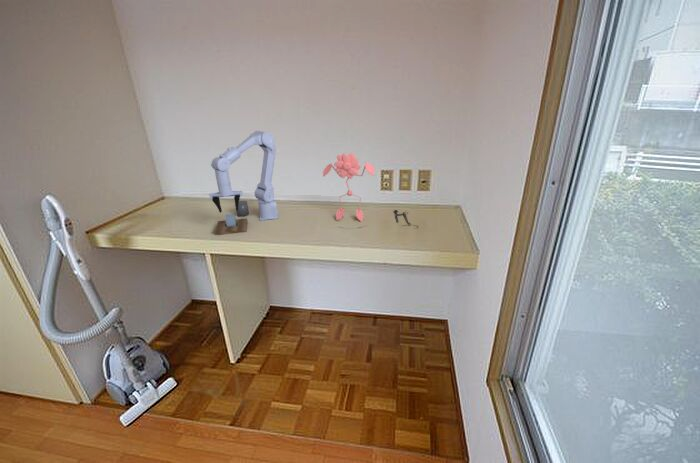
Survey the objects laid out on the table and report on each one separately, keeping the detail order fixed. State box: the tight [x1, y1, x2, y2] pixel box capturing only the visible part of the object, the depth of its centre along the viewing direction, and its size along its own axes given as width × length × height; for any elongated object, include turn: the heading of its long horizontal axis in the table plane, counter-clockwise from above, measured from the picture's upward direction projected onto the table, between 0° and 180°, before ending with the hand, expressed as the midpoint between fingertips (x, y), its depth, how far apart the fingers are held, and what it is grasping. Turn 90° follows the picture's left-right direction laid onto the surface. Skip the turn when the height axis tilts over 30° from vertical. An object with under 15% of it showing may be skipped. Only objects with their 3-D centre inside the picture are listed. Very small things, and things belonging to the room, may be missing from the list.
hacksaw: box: [393, 209, 419, 230], centre depth 165 cm, size 24×10×2 cm, turn 178°
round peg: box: [234, 200, 250, 218], centre depth 175 cm, size 6×6×7 cm
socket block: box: [214, 217, 249, 236], centre depth 158 cm, size 14×12×2 cm
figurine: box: [322, 152, 375, 229], centre depth 155 cm, size 15×26×35 cm, turn 78°
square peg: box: [224, 213, 237, 227], centre depth 157 cm, size 4×4×7 cm
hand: (229, 211), depth 155 cm, fingers open, 7 cm apart
